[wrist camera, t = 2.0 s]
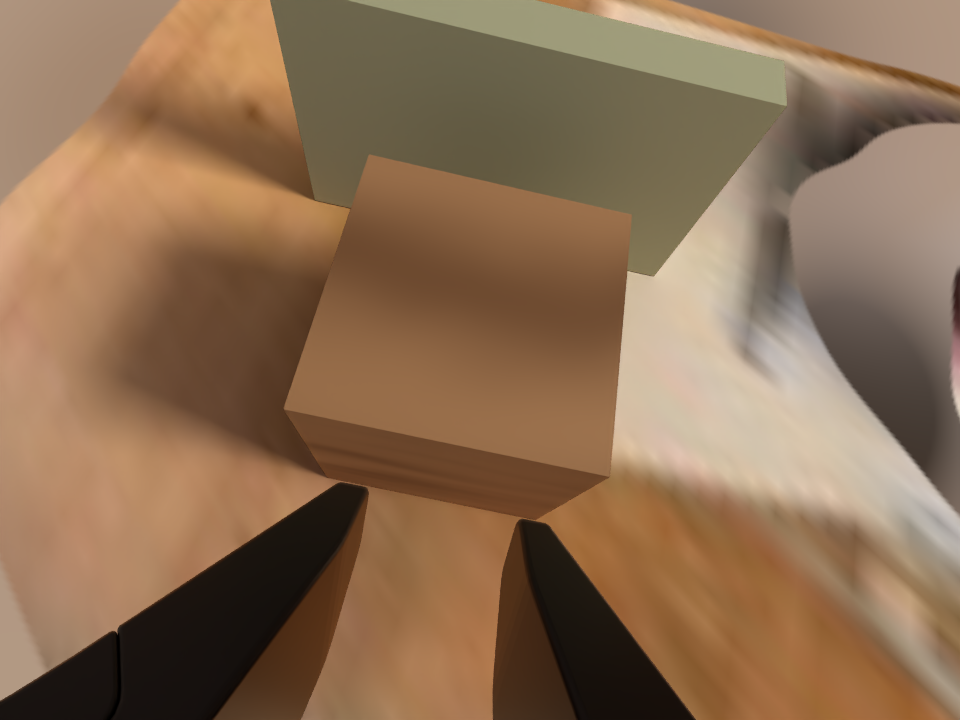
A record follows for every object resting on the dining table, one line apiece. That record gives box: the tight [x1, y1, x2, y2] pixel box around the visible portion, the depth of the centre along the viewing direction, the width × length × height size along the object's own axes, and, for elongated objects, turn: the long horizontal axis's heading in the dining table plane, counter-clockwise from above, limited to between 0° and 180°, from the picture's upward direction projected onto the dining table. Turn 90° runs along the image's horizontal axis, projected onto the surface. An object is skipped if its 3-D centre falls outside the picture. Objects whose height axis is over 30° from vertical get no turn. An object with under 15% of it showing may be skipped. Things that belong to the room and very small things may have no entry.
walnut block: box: [283, 154, 632, 520], centre depth 19 cm, size 8×8×8 cm
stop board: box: [270, 0, 787, 276], centre depth 22 cm, size 2×16×10 cm, turn 79°
